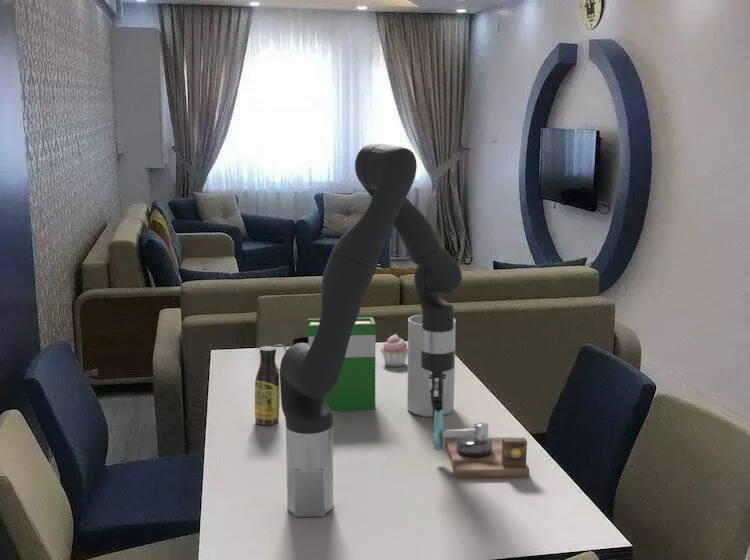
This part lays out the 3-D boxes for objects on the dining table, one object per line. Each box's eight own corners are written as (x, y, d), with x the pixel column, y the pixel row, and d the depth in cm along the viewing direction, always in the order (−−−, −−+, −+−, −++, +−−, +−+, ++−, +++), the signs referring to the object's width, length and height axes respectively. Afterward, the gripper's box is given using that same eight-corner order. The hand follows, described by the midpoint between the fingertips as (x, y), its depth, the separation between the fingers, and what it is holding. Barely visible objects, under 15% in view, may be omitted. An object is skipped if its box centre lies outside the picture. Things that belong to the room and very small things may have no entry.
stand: (529, 478, 173) (530, 443, 171) (456, 479, 172) (457, 444, 171) (511, 445, 191) (513, 413, 190) (445, 445, 191) (446, 414, 189)
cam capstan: (486, 442, 187) (487, 401, 185) (496, 456, 179) (497, 413, 177) (429, 445, 185) (430, 404, 183) (437, 459, 177) (438, 417, 175)
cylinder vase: (425, 398, 224) (426, 312, 219) (462, 408, 216) (464, 318, 211) (398, 410, 214) (398, 320, 209) (436, 421, 206) (437, 327, 202)
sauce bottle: (250, 423, 204) (248, 349, 201) (264, 416, 210) (262, 343, 206) (271, 428, 201) (269, 352, 198) (285, 420, 207) (283, 346, 203)
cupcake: (414, 363, 257) (415, 333, 256) (400, 370, 250) (400, 339, 248) (390, 358, 262) (390, 329, 260) (375, 365, 255) (375, 335, 253)
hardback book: (309, 412, 213) (308, 325, 208) (308, 403, 220) (307, 318, 215) (375, 410, 214) (375, 323, 210) (372, 401, 222) (372, 317, 217)
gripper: (453, 356, 173) (452, 431, 177) (455, 339, 186) (455, 409, 189) (418, 355, 174) (419, 430, 178) (423, 338, 187) (423, 408, 190)
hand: (437, 419), depth 183 cm, fingers closed
